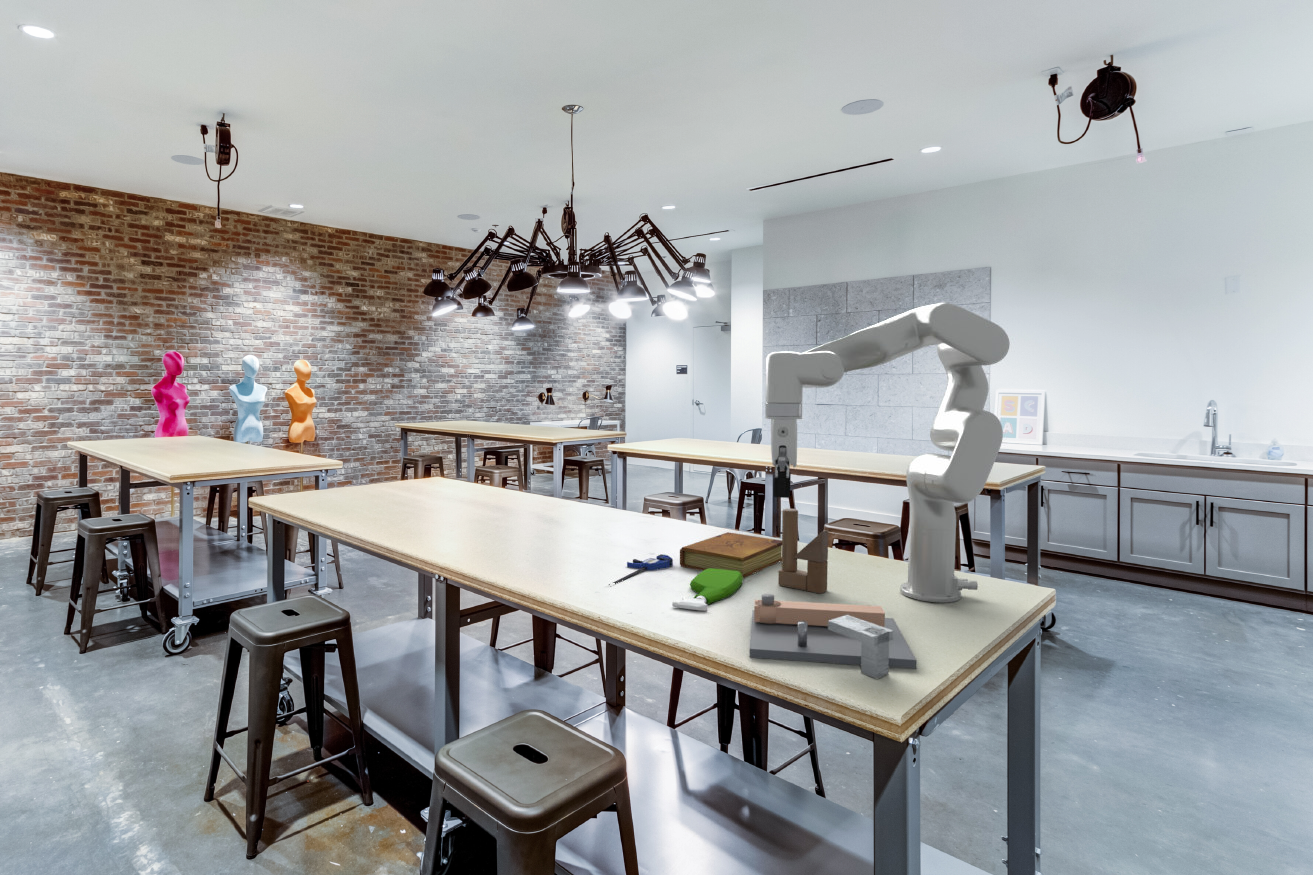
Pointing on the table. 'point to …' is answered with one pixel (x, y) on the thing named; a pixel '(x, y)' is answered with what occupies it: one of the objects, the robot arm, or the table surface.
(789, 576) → the wooden block
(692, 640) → the table surface
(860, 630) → the keeper
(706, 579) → the spray bottle
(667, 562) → the bar clamp
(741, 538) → the diary
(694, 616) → the table surface
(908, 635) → the table surface
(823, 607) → the link
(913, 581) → the robot arm
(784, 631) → the base board
